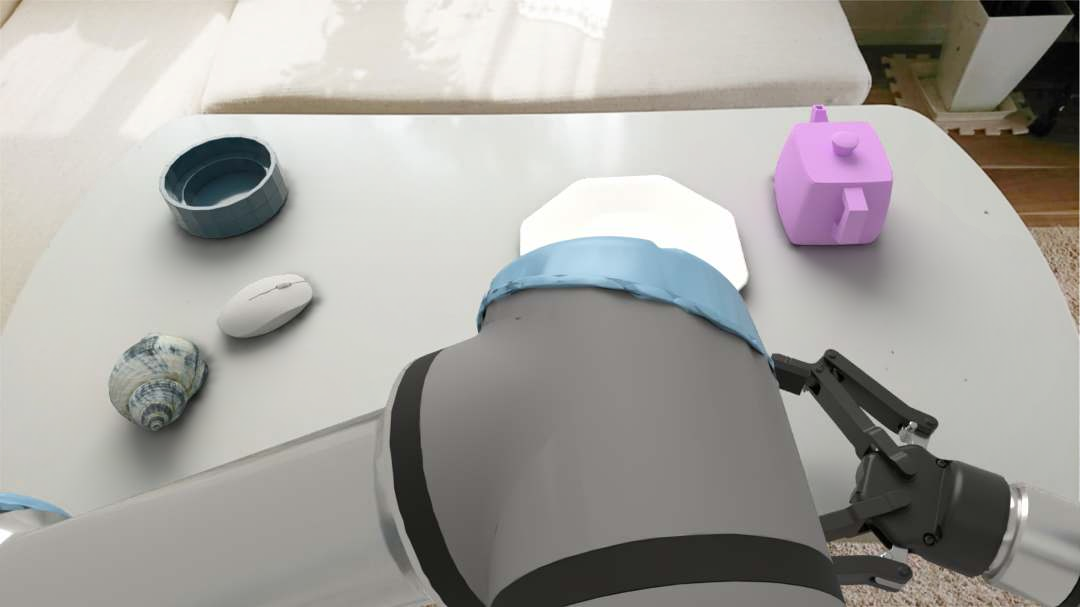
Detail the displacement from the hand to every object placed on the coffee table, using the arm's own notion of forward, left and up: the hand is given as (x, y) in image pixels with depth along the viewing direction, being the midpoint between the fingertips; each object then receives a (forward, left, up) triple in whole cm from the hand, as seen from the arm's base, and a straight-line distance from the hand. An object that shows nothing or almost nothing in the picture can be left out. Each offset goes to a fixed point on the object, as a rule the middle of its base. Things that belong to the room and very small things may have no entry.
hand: (700, 421), depth 59 cm
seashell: (-36, +35, -8) cm, 51 cm away
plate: (+11, +22, -8) cm, 26 cm away
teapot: (+33, +15, -8) cm, 38 cm away
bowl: (-21, +58, -8) cm, 62 cm away
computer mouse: (-24, +39, -8) cm, 47 cm away
